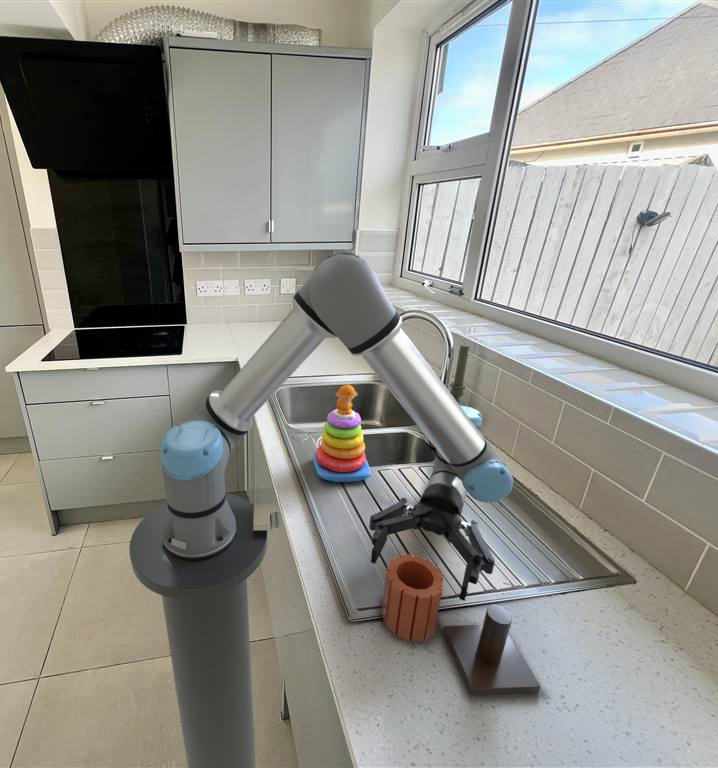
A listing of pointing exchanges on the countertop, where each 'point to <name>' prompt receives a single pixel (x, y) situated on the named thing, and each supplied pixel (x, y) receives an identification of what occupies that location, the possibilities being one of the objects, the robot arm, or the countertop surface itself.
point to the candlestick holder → (459, 375)
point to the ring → (412, 597)
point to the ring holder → (490, 656)
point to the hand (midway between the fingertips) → (415, 574)
